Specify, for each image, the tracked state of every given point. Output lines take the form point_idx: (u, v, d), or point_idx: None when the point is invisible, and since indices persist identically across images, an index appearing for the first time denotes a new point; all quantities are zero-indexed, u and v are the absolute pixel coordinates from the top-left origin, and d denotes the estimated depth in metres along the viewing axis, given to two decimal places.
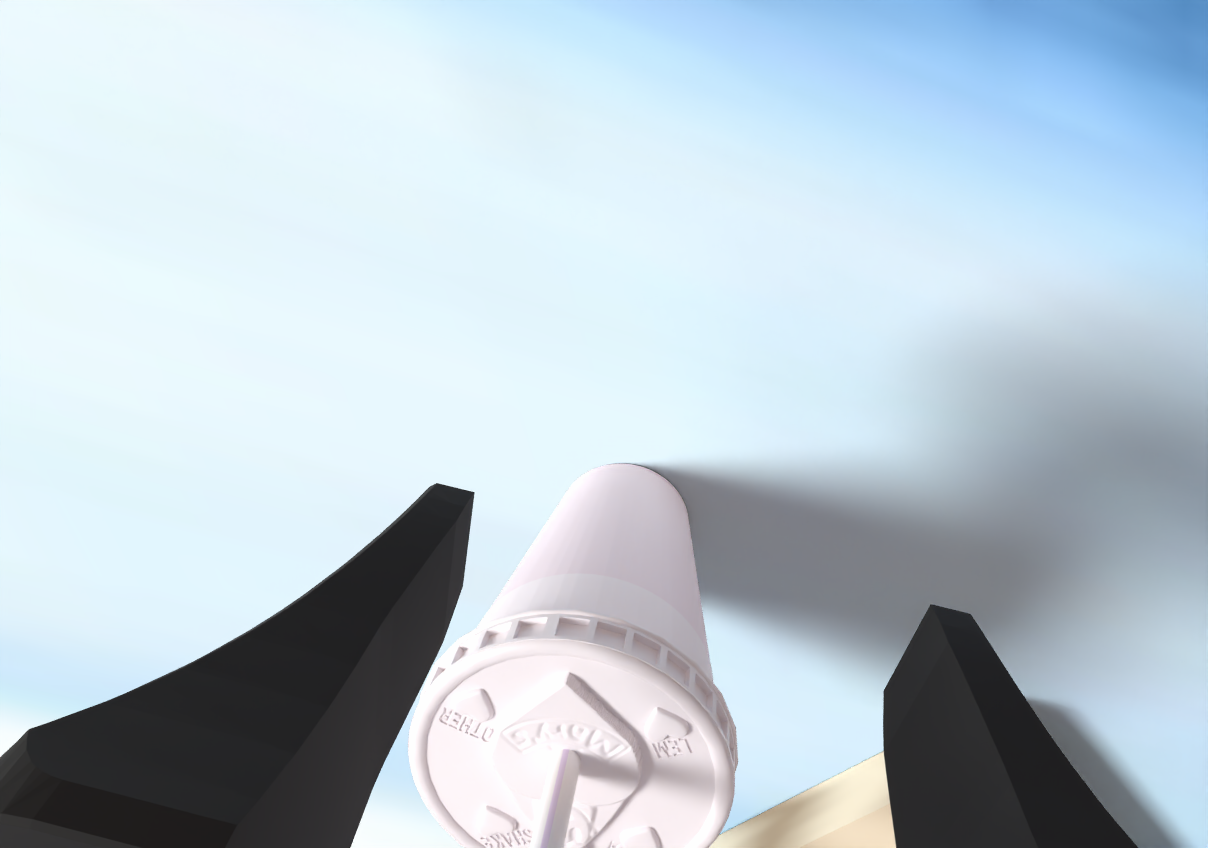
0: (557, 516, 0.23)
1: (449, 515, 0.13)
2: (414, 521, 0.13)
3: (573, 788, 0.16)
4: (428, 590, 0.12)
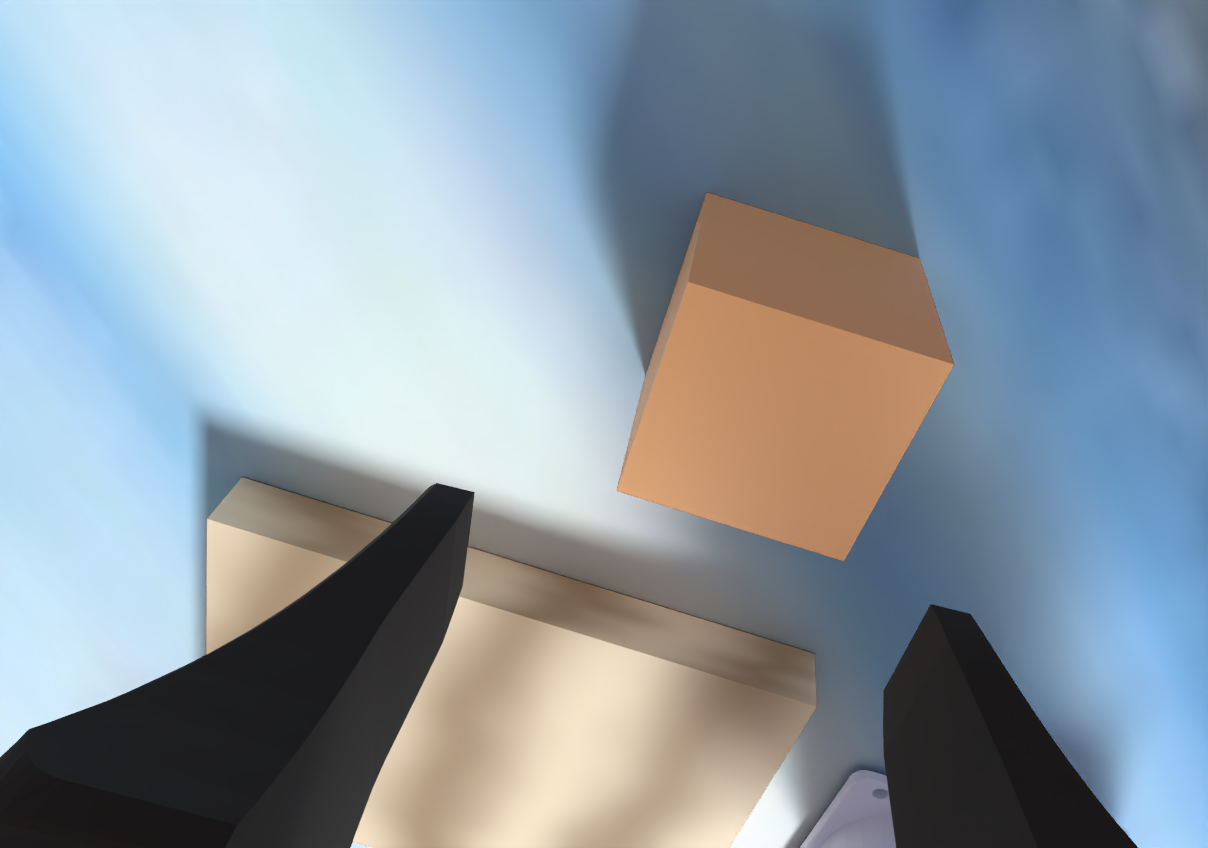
0: None
1: (449, 515, 0.13)
2: (414, 521, 0.13)
3: None
4: (428, 590, 0.12)
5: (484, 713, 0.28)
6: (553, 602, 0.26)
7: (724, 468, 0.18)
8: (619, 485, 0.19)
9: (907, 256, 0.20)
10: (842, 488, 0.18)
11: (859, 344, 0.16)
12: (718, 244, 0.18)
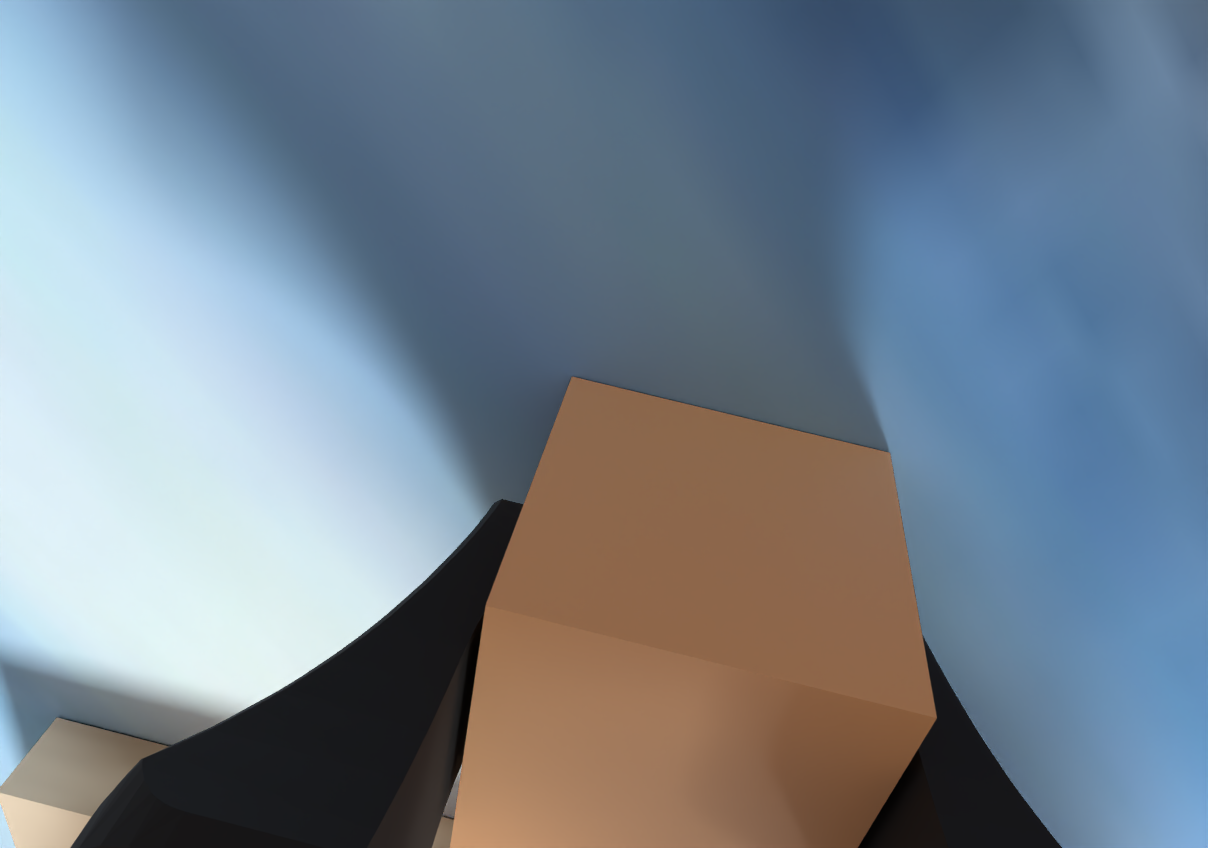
0: None
1: None
2: (486, 539, 0.12)
3: None
4: None
5: None
6: None
7: (597, 834, 0.12)
8: (451, 847, 0.13)
9: (871, 455, 0.14)
10: None
11: (775, 689, 0.10)
12: (562, 496, 0.12)
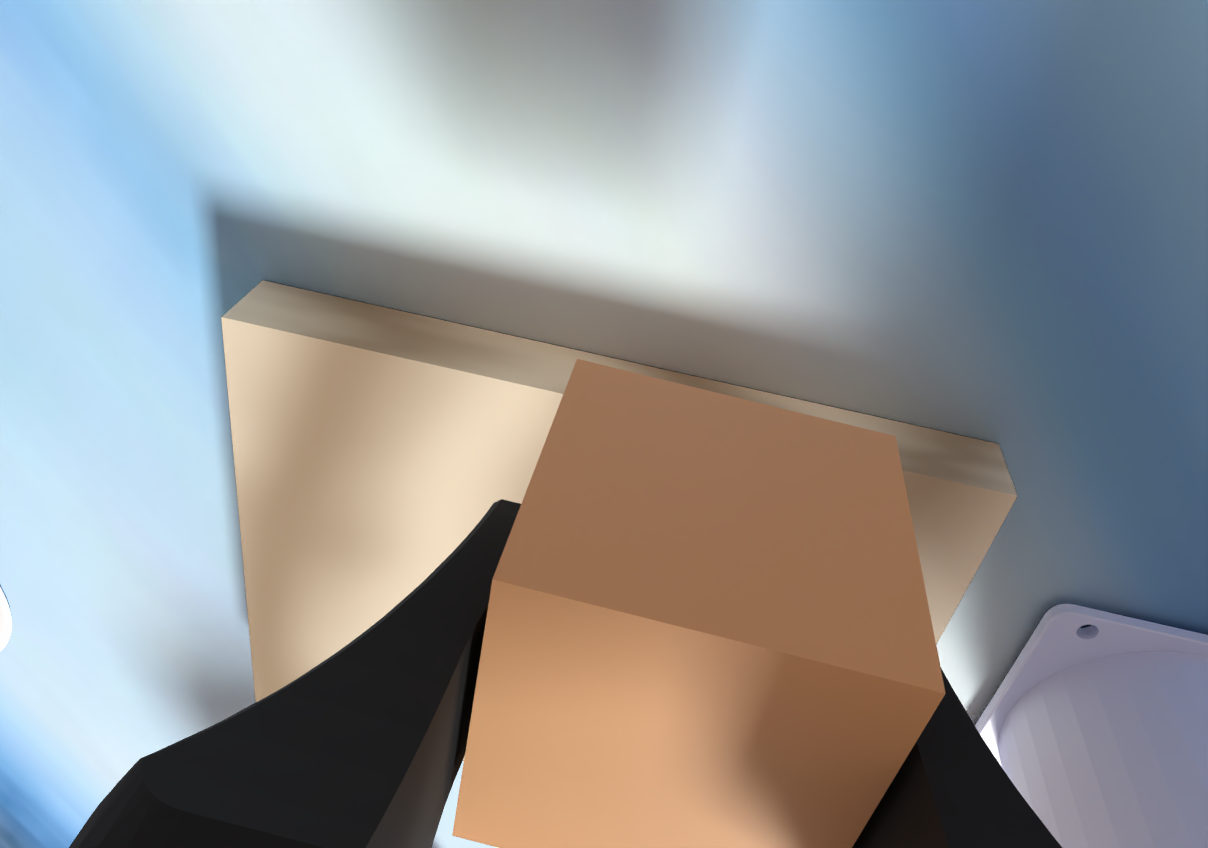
0: None
1: None
2: (485, 538, 0.12)
3: None
4: None
5: None
6: None
7: (603, 815, 0.12)
8: (455, 828, 0.13)
9: (877, 438, 0.14)
10: (787, 844, 0.12)
11: (783, 664, 0.10)
12: (569, 475, 0.12)
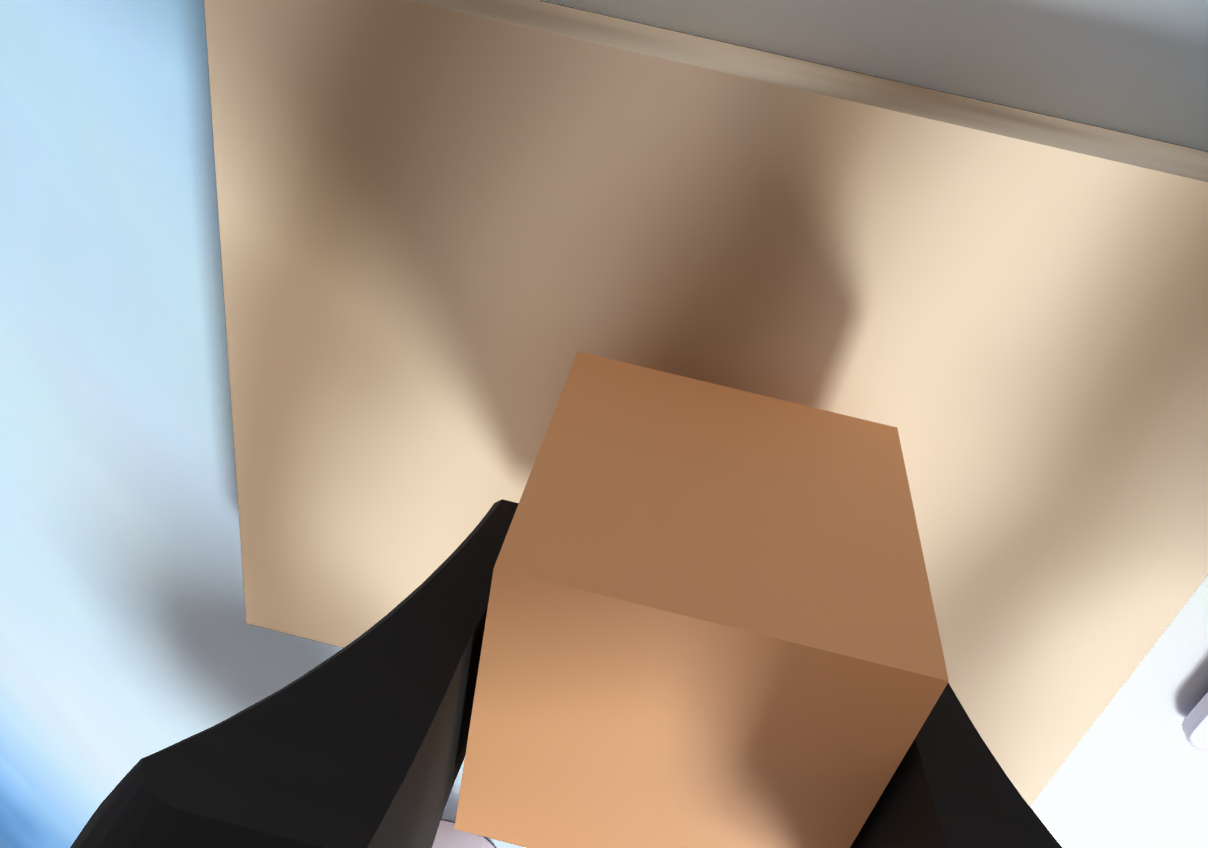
0: None
1: None
2: (486, 539, 0.12)
3: None
4: None
5: (733, 372, 0.15)
6: (884, 94, 0.13)
7: (605, 806, 0.12)
8: (457, 822, 0.13)
9: (879, 430, 0.14)
10: (790, 835, 0.12)
11: (786, 653, 0.10)
12: (570, 465, 0.12)
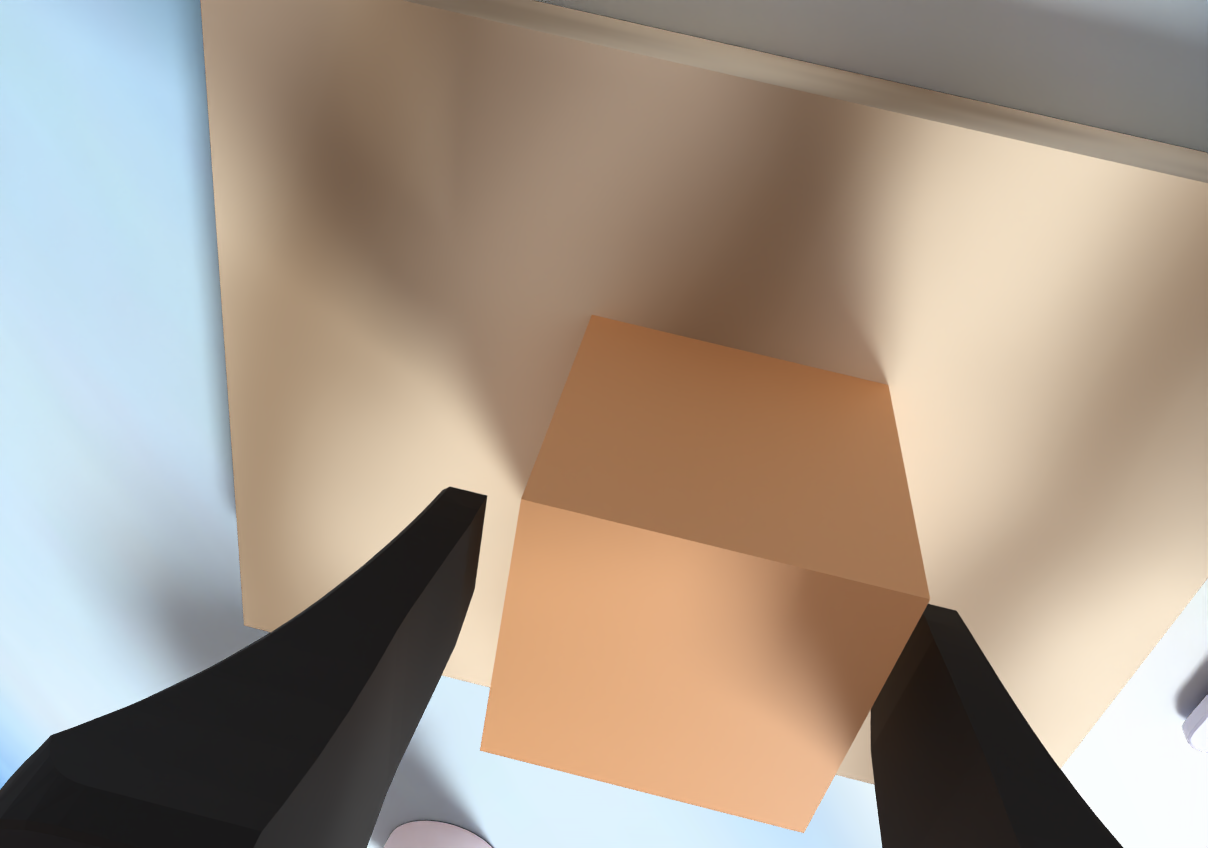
0: None
1: (463, 518, 0.13)
2: (428, 524, 0.12)
3: None
4: (443, 594, 0.12)
5: None
6: (883, 96, 0.13)
7: (619, 726, 0.13)
8: (482, 744, 0.14)
9: (871, 386, 0.15)
10: (788, 750, 0.13)
11: (783, 575, 0.11)
12: (587, 413, 0.13)
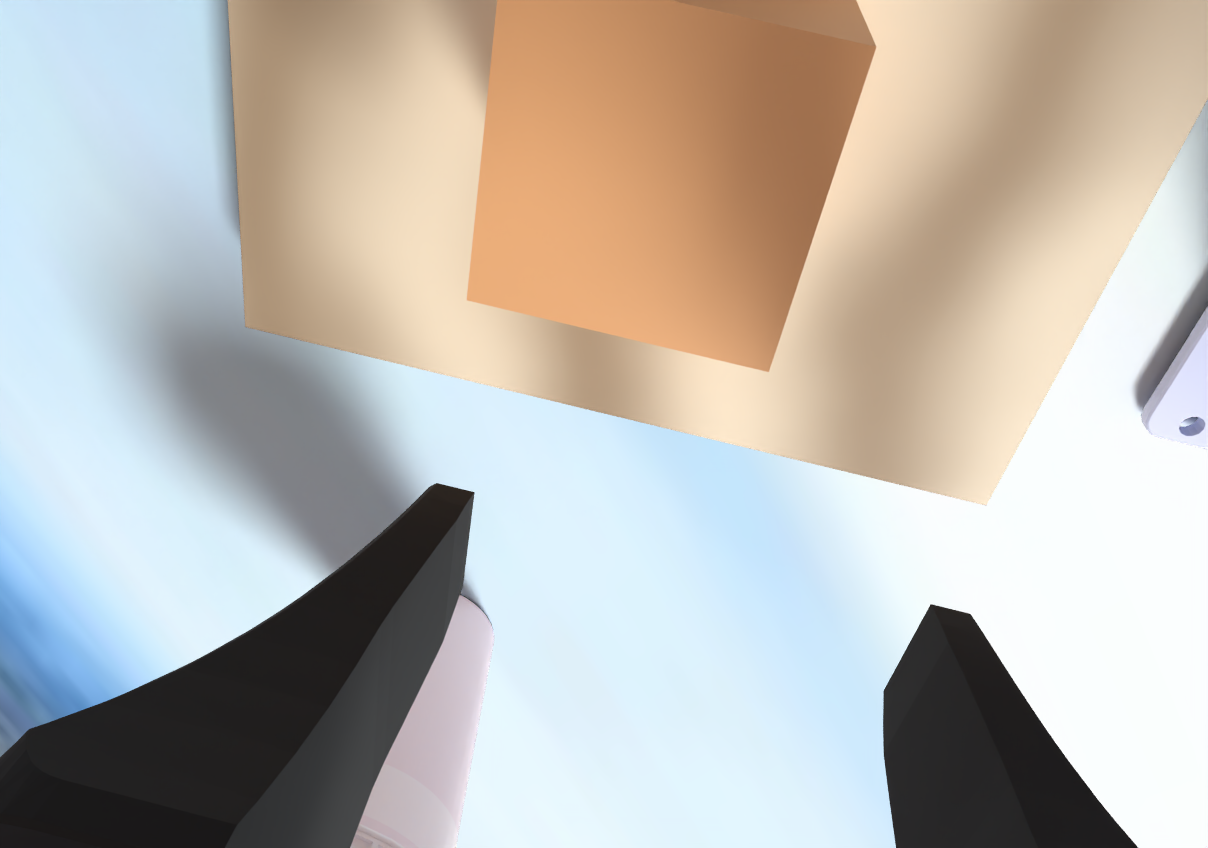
0: None
1: (449, 515, 0.13)
2: (414, 521, 0.13)
3: None
4: (428, 590, 0.12)
5: None
6: None
7: (595, 251, 0.14)
8: (469, 291, 0.15)
9: None
10: (751, 263, 0.14)
11: (743, 32, 0.12)
12: None
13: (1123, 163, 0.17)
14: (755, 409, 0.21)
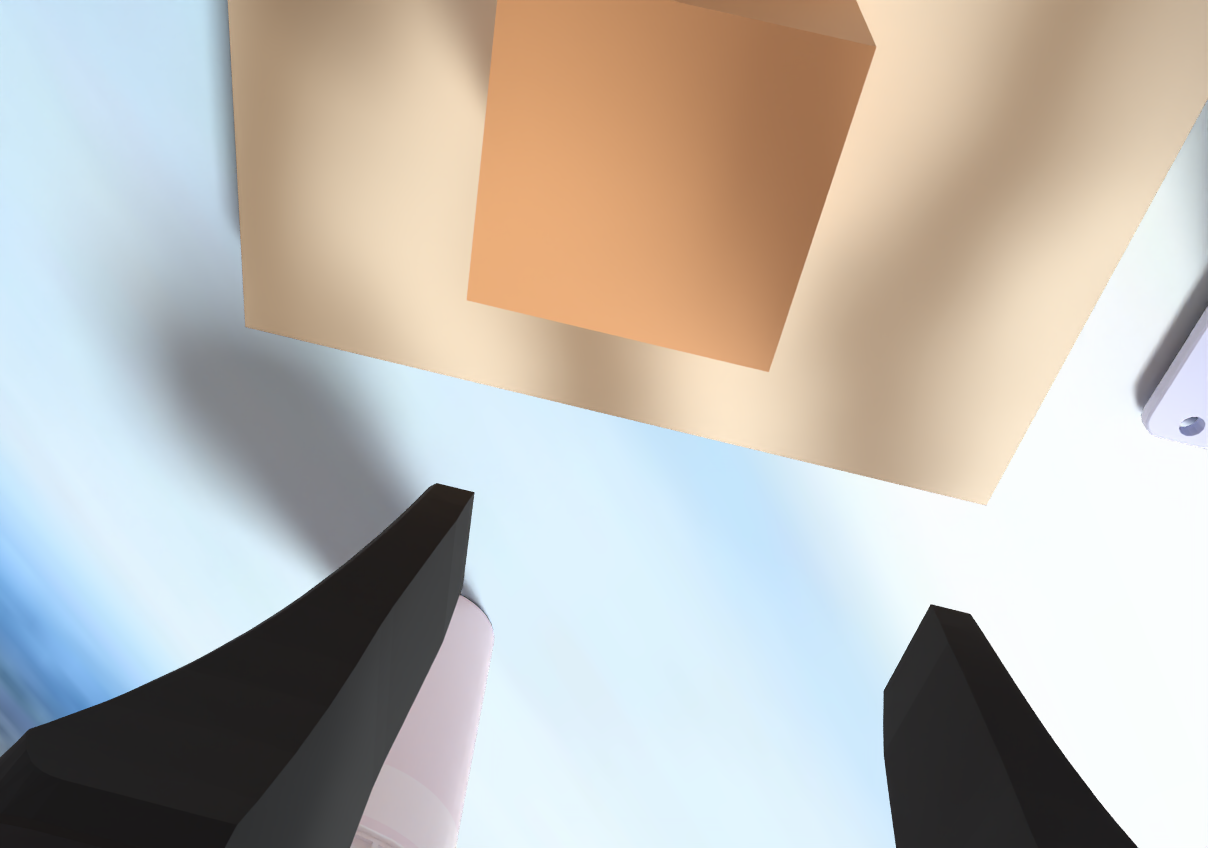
0: None
1: (449, 515, 0.13)
2: (414, 521, 0.13)
3: None
4: (428, 590, 0.12)
5: None
6: None
7: (595, 251, 0.14)
8: (469, 291, 0.15)
9: None
10: (751, 263, 0.14)
11: (743, 32, 0.12)
12: None
13: (1123, 163, 0.17)
14: (755, 409, 0.21)
